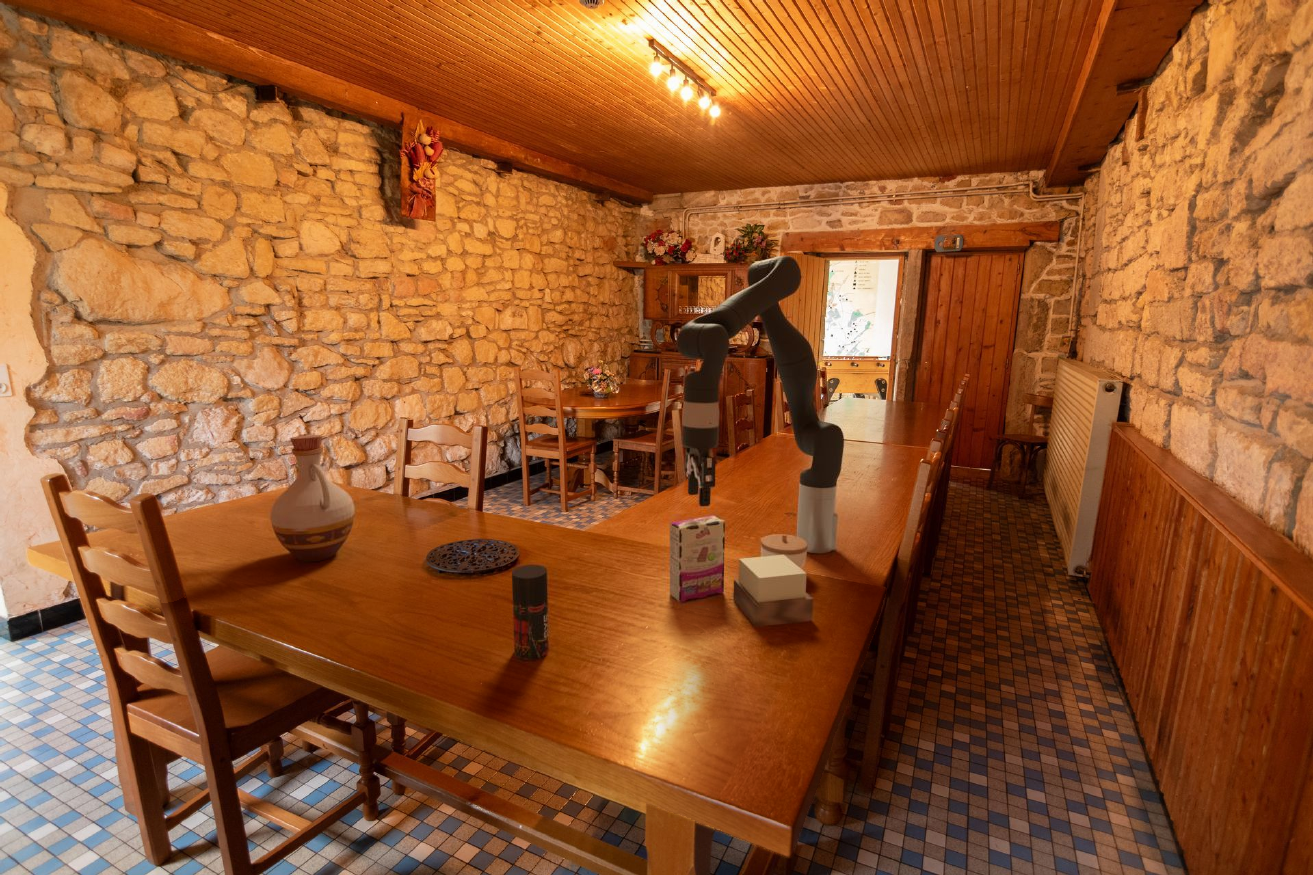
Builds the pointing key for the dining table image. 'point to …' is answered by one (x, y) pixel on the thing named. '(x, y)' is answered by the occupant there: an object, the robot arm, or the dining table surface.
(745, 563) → the cream square block
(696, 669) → the dining table surface
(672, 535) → the candy bar box
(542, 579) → the deodorant
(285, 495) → the jug
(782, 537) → the lidded jar
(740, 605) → the walnut slab
